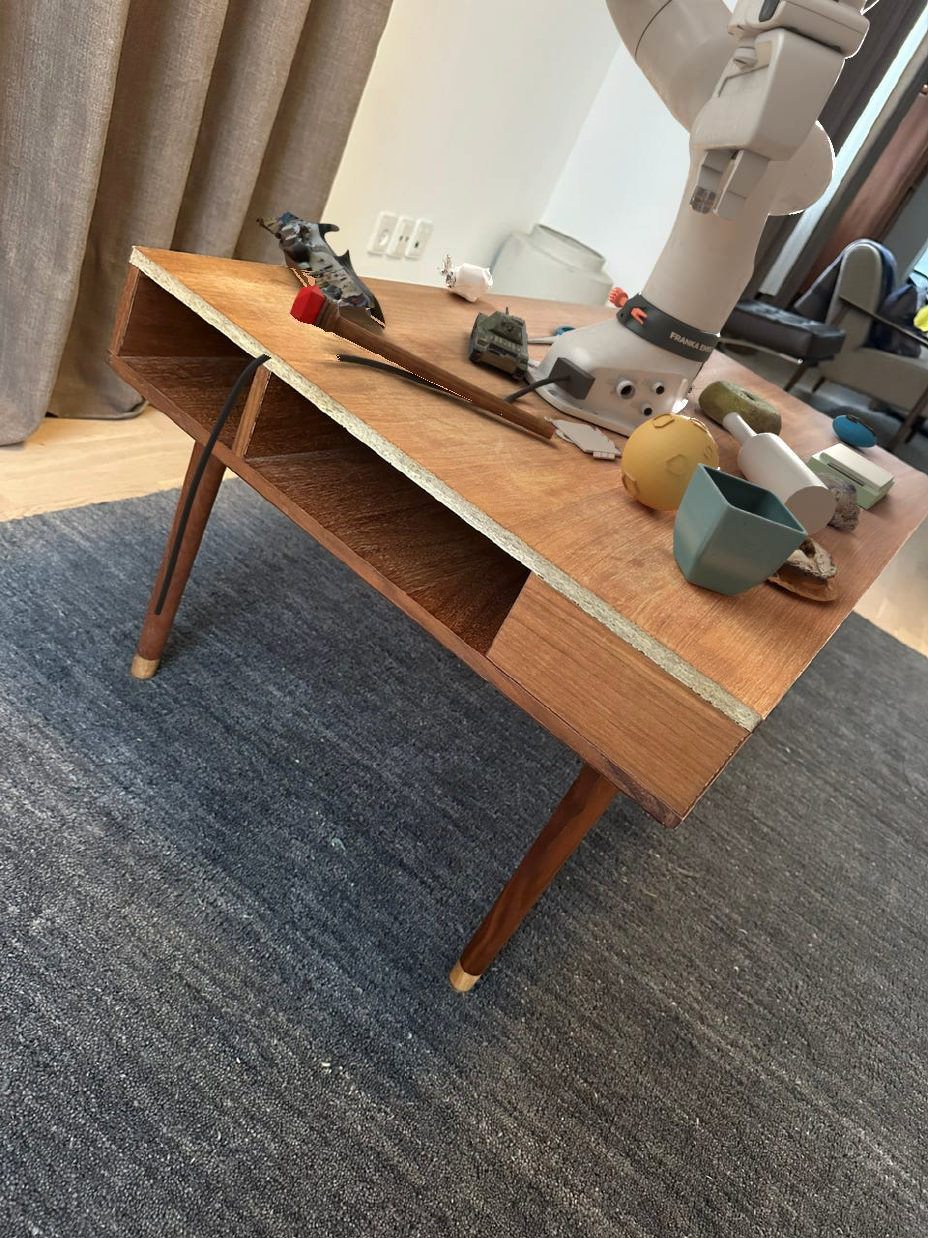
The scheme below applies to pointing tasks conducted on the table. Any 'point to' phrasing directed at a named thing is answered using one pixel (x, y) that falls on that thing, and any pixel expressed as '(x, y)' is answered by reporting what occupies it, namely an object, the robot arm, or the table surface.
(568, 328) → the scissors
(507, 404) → the decorative stake
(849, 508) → the mineral specimen
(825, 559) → the cake on gold board
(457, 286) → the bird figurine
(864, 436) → the ornament
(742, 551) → the flower pot
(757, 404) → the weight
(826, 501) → the bottle
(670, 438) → the stress ball
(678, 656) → the table surface
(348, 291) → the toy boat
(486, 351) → the toy tank
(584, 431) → the decorative emblem
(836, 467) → the pale green slotted box
